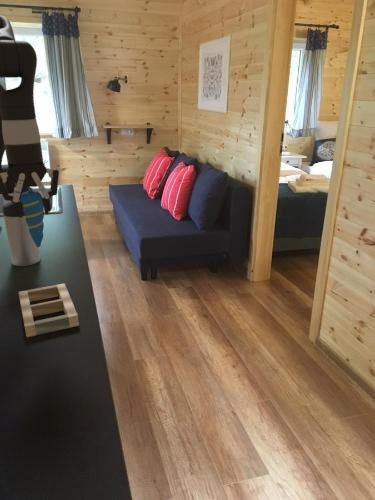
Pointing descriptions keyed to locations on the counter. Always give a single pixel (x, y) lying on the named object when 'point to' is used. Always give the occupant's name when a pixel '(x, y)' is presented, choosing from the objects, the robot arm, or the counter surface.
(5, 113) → the robot arm
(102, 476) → the counter surface
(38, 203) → the ornament
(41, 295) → the wooden frame
